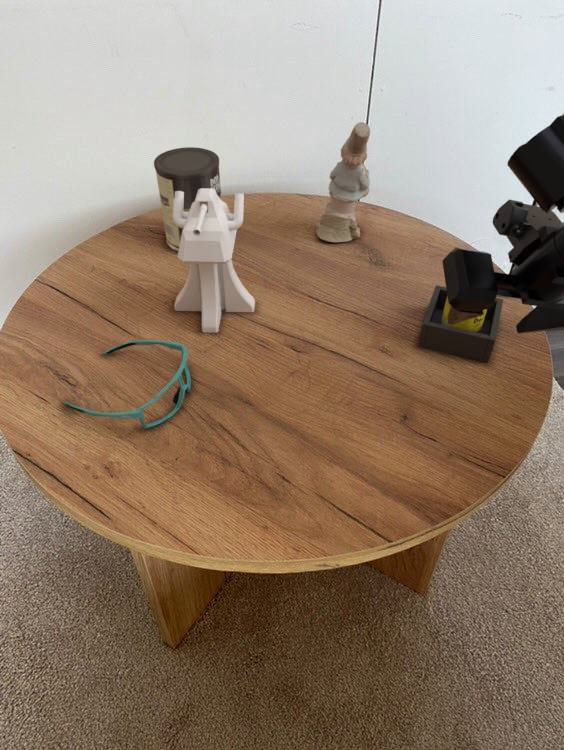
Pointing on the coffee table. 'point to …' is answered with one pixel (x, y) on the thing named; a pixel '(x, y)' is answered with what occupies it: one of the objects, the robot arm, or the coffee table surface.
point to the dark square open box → (459, 331)
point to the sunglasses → (177, 397)
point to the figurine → (346, 189)
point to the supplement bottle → (469, 325)
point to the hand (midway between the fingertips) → (483, 325)
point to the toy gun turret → (210, 257)
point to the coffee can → (184, 182)
